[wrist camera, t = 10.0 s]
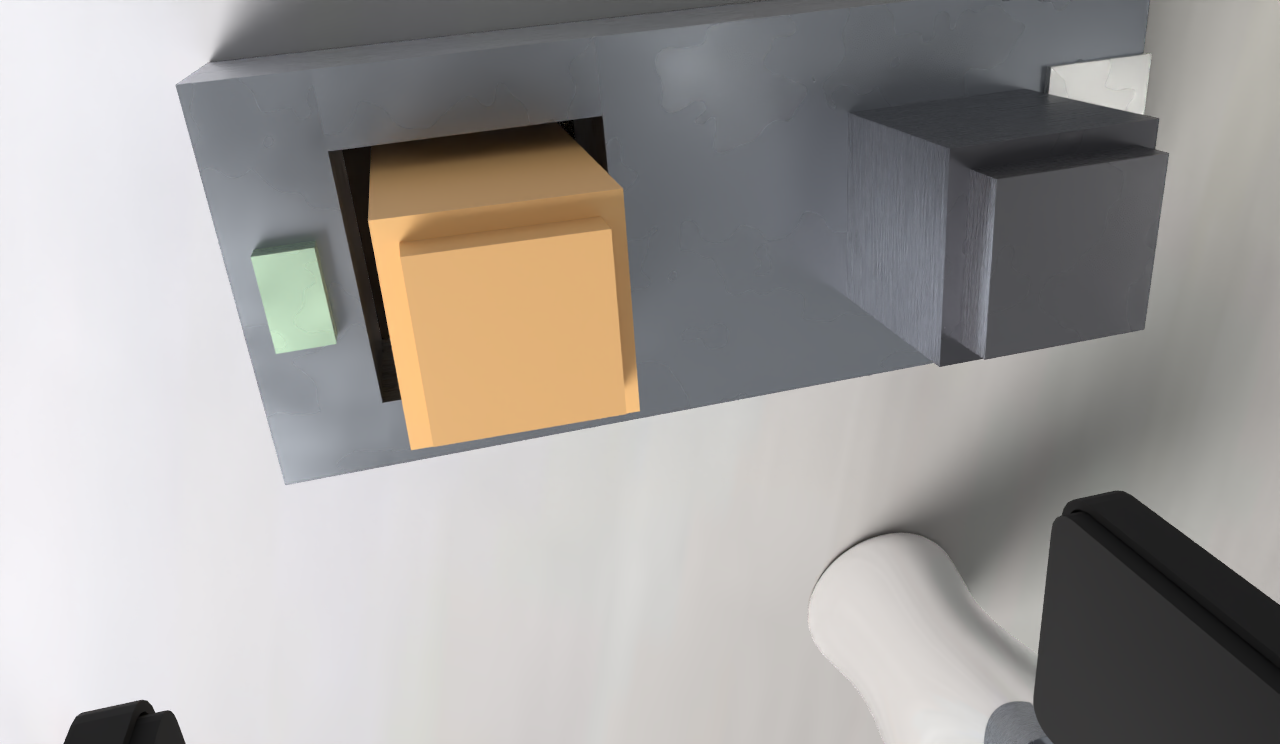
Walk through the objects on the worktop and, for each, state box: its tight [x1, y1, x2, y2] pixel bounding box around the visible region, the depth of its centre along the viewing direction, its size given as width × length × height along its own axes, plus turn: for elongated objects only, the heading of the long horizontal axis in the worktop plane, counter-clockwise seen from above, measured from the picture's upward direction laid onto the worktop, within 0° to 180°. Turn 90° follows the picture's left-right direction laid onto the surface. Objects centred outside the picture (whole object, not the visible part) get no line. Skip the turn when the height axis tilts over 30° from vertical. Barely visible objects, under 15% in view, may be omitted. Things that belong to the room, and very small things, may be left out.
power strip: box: [176, 0, 1169, 485], centre depth 25 cm, size 24×10×10 cm, turn 95°
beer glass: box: [808, 533, 1053, 744], centre depth 31 cm, size 7×7×15 cm
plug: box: [368, 122, 640, 450], centre depth 24 cm, size 5×5×10 cm
